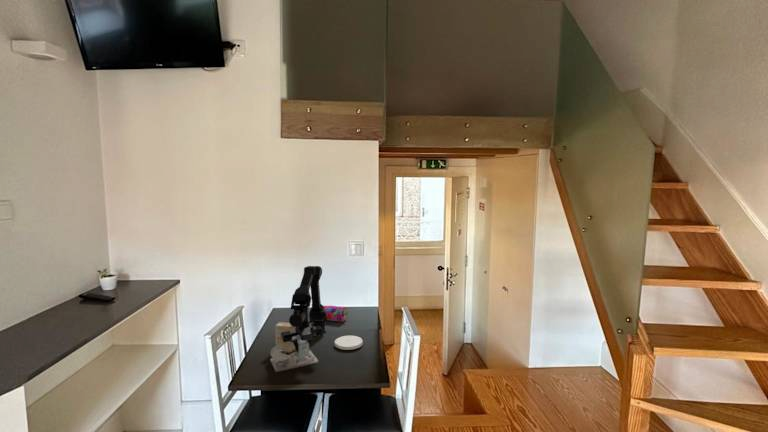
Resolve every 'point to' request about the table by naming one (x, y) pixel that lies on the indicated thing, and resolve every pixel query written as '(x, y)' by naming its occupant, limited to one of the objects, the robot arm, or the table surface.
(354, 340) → the plastic lid
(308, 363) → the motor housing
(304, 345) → the grey block with cylinder
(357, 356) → the table surface
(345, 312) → the pencil case
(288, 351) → the supplement box
